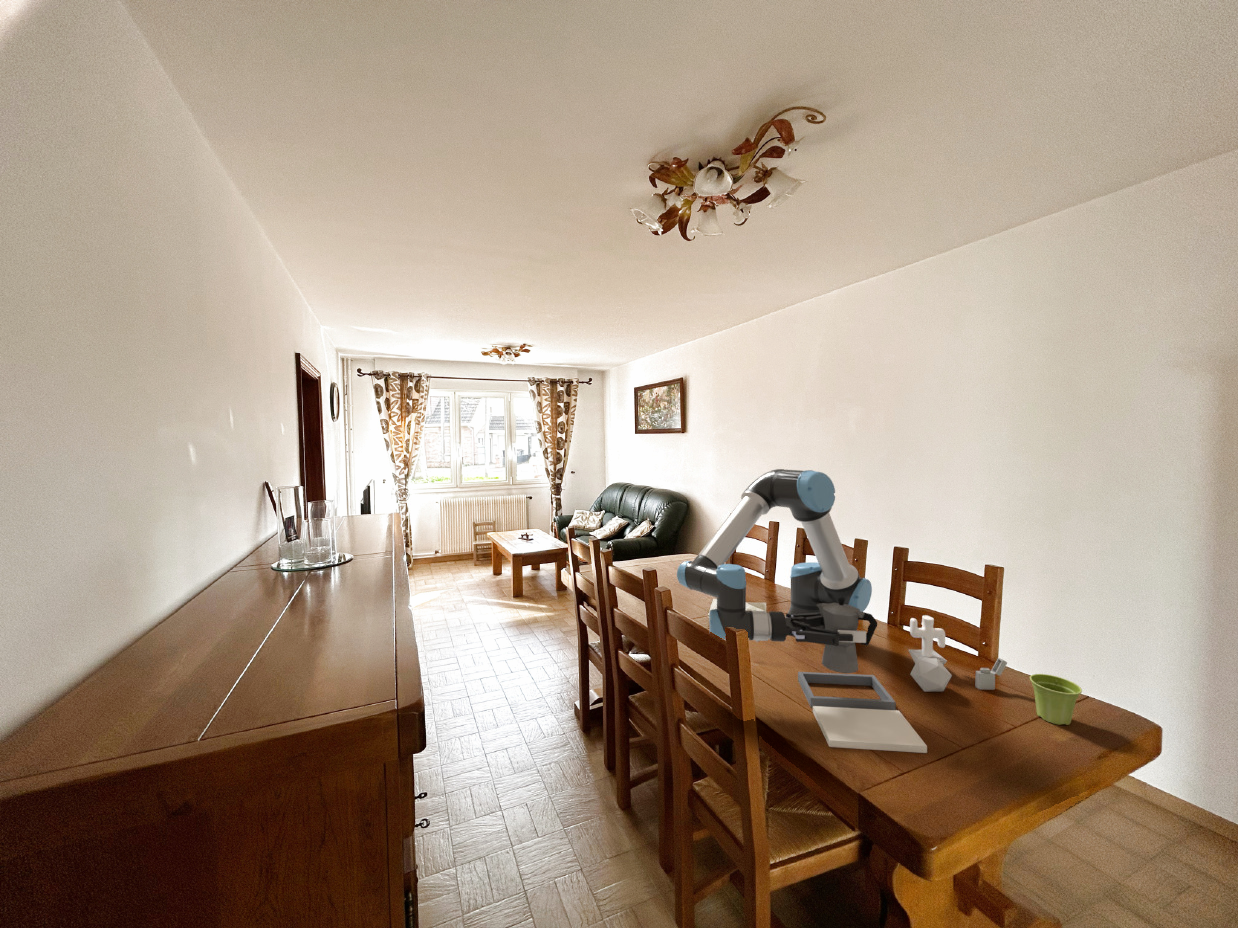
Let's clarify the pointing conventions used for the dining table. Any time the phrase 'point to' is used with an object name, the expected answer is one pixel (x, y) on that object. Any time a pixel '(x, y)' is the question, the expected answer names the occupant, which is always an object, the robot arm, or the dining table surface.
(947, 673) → the die
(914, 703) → the dining table surface
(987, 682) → the lighter
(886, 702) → the rimmed stand
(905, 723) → the trivet
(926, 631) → the figurine
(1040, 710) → the plant pot
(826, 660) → the coffeepot
